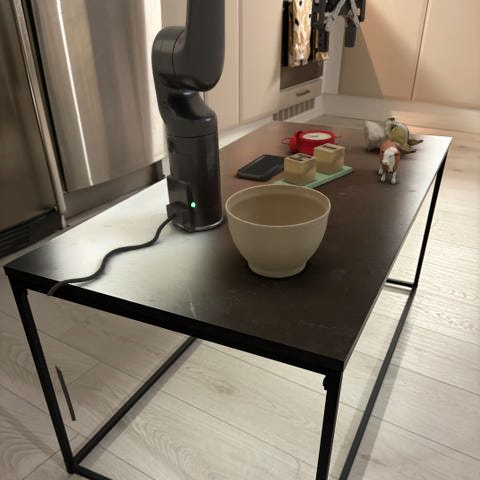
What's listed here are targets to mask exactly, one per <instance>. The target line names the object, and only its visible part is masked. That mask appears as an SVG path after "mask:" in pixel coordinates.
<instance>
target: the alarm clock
mask: <svg viewBox="0 0 480 480" xmlns="http://www.w3.org/2000/svg"><path fill="white" fill-rule="evenodd" d="M342 136H343V135H340V136H335V133H333V132H331V131H328V130H317V129H315V130H307V131H302V130H296V131H295V132H294V133H293V135H292V136H291V137H286V138H285V137H284V138H282V139H281V141H280V143H281V144H283V145H287V146H289V150H290V152H291V153H292V154H297V152H298V153H301V154H305V155H309V156H314V148H316V147H318V146H321V145H324V144H327V143H329V144H333V145H337V146H339V145H338V143H335V140H336V139H337V138H340V139H341V138H342ZM284 140H289V142H288V143H287V142H283V141H284Z"/></svg>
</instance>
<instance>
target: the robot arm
mask: <svg viewBox="0 0 480 480" xmlns="http://www.w3.org/2000/svg"><path fill="white" fill-rule="evenodd" d="M366 4H367V0H311V12H310V24H309V25H310V27H311V28H314V29H316V30H317V45H316V47H317V52H318V53H323V54H325V53H328V52H329V49H330V33H331V31H330V29H331V27H332V24H333V22H334V21H336V19H337V18H338V17H341V18H343V20H344V22H345V24H346V26H345V27H344V28H345V31H344V42H343V46H344V48H348V49H349V48H350V49H351V48H354V47H355V46H356V44H355V43H356V41H357V40H356V37H357V29H358V27H359V25H360V23H364V22H365V19H366ZM185 9H186V12H185V24H184V25H167V26H164V27H162V28H161V29H160V30H159V31H158V32H157V33H156V35H155V37H154V38H153V41H152V46H151V52H150V60H151V61H150V63H151V73H152V78H153V85H154V90H155V91H154V92H155V97H156V103H157V109H158V112H159V115H160V117H161V119H162V121H163V124H164V129H165V137H166V146H167V154H168V164H169V173H170V174H168V175H166V186H167V196H168V201H169V202H168V204H166V205H165V210H166V217H167V218H166V219H165V220H164V221H163V222H162V223H161V224H160V225H159V226H158V228H157V229H156V232H155V235H154V237H153V238H152V239H151V240H149V241H147V242H145V243H141V244H136V245H127V246H119V247H117V248H113V249H112V250H110V251H108V252H107V253H106V254H105V255H104V257H103V259H102V260H101V264H100V267H99V268H98V270H96V271H95V272H94V273H92V274H91V275H88V276H83V277H75V278H68V279H64V280H61V281H58V282H57V283H55V284H53V286H52V287H51V288H50V289H49V290H48V292H47V293H46V296H47V297H51V296H53V295H54V293H55V292H56V291H57V290H58V289H59V288H61V287H63V286H65V285H66V286H67V285H69V283H70V284H78V283H86V282H90V281H93V280H95V279H97V278H98V277H99V276H100V275H102V273H103V272H104V270H105V268H106V265H107V263H108V261H109V259H110V258H111V257H112V256H114V255H115V254H118V253H120V252H125V251H133V250H134V251H135V250H139V249H145V248H148V247H150V246H152V245H153V244H156V242H157V241H158V240H159V238H160V236H161V233H162V230H163V229H164V228H165V227H166V226H167V225H168V224H170V222H171V225H174V226H176V227H178V228H180V229H182V230H184V231H186V232H188V233H193V232H199V231H207V230H212V229H214V228H217V227H219V226H220V225H221V224H222V223H223V221H224V214H223V199H222V198H223V197H222V182H221V181H222V180H221V179H222V178H221V162H220V160H221V159H220V143H219V142H220V140H219V124H218V123H219V121H218V115H217V113H216V112H215V110H214V109H212V107H210V106H209V105H208V104H207V103H206V102H205V100H204V99H203V97H202V96H201V94H200V93H208V92H210V91H212V90H213V89H214V88H215V87H216V86H217V85H218V84H219V81H220V80H221V77H222V74H223V71H224V65H225V59H226V58H225V57H226V0H186V8H185ZM358 9H359V11H358ZM358 13H359V14H358ZM317 19H318V20H317ZM54 368H55V371H56V374H57V375H56V376H57V378H58V381H59V384H60V386H61V390H62V393H63V395H64V398H65V402H66V405H67V408H68V412H69V415H70V419H71V421H72V422H76V421H77V417H76V414H75V410H74V406H73V404H72V400H71V397H70V394H69V390H68V388H67V385H66V382H65V379H64V376H63V375H64V374H63V372H62V370H61V369H60V368H59V367H58V366H57V365H56V364H54Z"/></svg>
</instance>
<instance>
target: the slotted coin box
mask: <svg viewBox="0 0 480 480" xmlns="http://www.w3.org/2000/svg"><path fill="white" fill-rule="evenodd" d="M345 152H346V147H345V146H341V145H333V144H329V143H327V144H324V145H321V146H318V147H316V148H314V155H313V157H316V158H317V159H316V170H317V171H320V172H324V173H327V174H331V173H334V172H336V171H339V170H342V169H343V165H344V163H345Z"/></svg>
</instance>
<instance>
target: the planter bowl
mask: <svg viewBox="0 0 480 480" xmlns="http://www.w3.org/2000/svg"><path fill="white" fill-rule="evenodd" d="M331 204H332V203H331V202H330V199H329V197H327V196H326V195H325V194H323V193H322V192H320V191H318V190H316V189H314V188H307V187H302V186H297V185H289V184H272V183H270V184H269V183H268V184H261V185H255V186H254V185H253V186H250V187H247V188H243V189H241V190H239V191H237V192H235V193H234V194H232V195H231V196H229V197H228V198H227V200H226V201H225V206H224V207H225V214H226V217H227V225H228V230H229V232H230V233H229V234H230V235H231V239H232V241H233V243H234V245H235V247H236V248H237V251H239V253H240V255H242V257H243V258H244V259H245V260H246V261H247V265H248V267H249V269H250V270H251V271H252V272H254V273H255V274H258V275H259V276H263V277H266V278H275V279H276V278H277V279H278V278H280V279H281V278H289V277H292V276H295V275H297V274H299V273H301V272H302V271H303V270H304V269H305V268H306V265H307V262H308V261H309V260H310V258H312V256H313V255H314V254H315V253H316V251H317V249H318V248H319V246H320V244H321V243H322V241H323V238H324V235H325V233H326V230H327V225H328V219H329V215H330V212H331V207H332V206H331Z"/></svg>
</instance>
